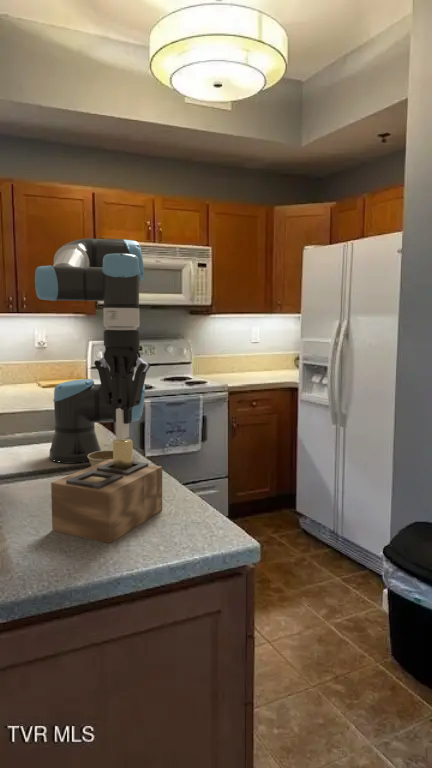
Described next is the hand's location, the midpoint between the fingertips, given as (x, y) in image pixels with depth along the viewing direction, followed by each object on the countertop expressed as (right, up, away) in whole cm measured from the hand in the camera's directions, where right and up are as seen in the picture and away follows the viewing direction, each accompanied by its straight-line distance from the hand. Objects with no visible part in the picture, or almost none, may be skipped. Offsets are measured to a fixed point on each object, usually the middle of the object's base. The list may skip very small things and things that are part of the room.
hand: (122, 437), depth 119 cm
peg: (0, -9, +1) cm, 9 cm away
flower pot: (-7, -15, +18) cm, 25 cm away
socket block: (-2, -17, -2) cm, 18 cm away
